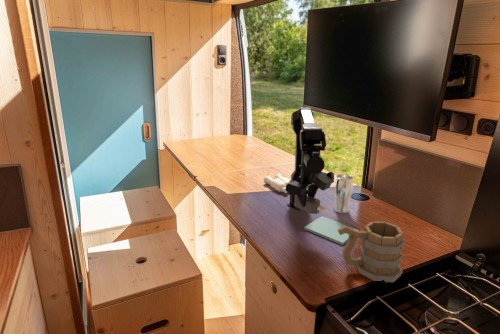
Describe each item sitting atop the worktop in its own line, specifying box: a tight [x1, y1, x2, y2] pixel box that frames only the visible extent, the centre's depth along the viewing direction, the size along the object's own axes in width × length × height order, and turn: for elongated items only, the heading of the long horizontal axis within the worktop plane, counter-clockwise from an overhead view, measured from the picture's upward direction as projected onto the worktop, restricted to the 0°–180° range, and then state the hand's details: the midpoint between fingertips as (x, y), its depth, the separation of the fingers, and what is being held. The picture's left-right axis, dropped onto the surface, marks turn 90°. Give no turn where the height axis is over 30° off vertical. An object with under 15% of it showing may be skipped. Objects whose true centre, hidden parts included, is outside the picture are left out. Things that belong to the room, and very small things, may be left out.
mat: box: [303, 215, 360, 246], centre depth 129 cm, size 16×12×1 cm
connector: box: [294, 194, 327, 215], centre depth 123 cm, size 12×4×4 cm, turn 45°
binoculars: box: [263, 173, 290, 194], centre depth 168 cm, size 10×16×5 cm, turn 30°
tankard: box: [338, 221, 406, 283], centre depth 105 cm, size 20×13×15 cm, turn 88°
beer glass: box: [333, 173, 354, 214], centre depth 143 cm, size 7×7×15 cm
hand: (307, 204), depth 124 cm, fingers closed on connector, 4 cm apart
